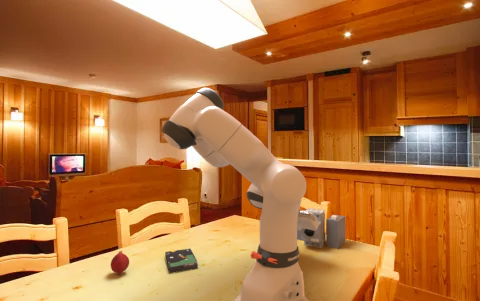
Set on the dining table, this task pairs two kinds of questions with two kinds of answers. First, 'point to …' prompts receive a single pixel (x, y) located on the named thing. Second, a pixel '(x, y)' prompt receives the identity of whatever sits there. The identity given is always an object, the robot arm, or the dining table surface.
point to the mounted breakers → (333, 231)
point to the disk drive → (180, 260)
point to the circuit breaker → (316, 236)
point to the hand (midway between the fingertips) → (297, 228)
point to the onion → (119, 263)
